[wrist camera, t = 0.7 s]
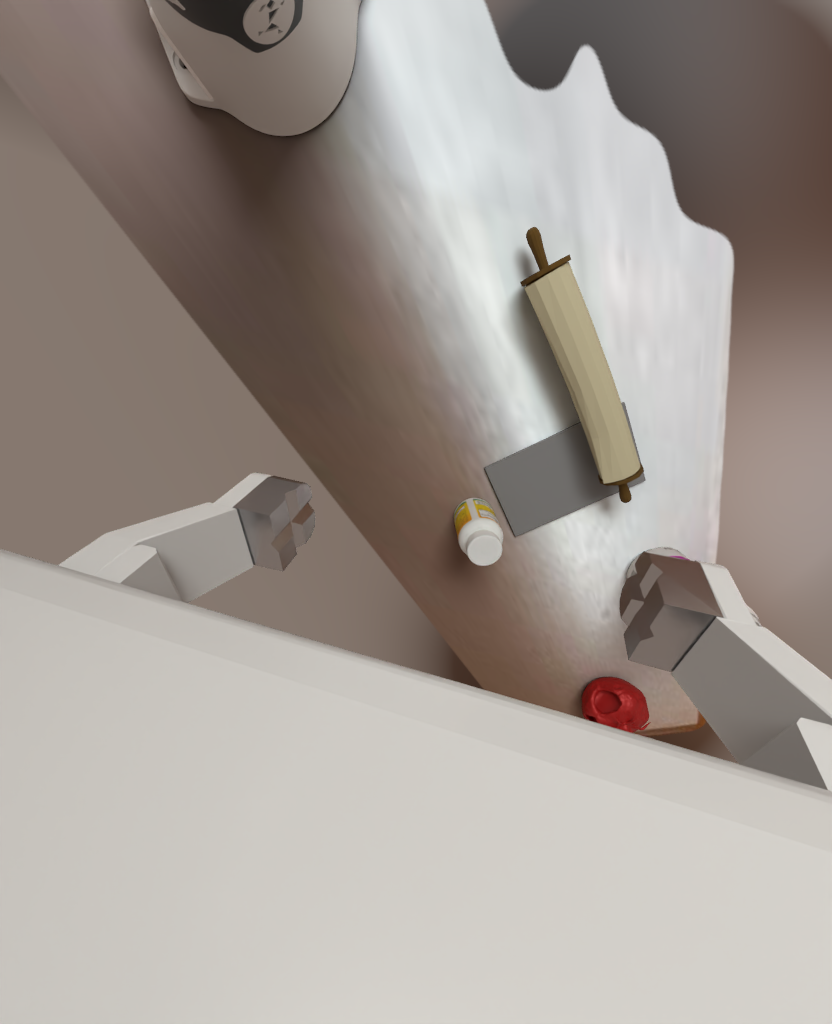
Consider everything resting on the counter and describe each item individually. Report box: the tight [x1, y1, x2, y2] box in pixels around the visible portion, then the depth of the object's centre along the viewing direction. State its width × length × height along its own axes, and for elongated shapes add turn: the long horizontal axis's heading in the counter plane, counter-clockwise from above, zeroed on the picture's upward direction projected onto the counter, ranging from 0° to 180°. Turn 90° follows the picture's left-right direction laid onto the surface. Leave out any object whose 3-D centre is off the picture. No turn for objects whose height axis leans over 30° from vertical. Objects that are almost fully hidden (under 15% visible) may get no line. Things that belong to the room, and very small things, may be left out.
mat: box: [485, 402, 645, 537], centre depth 50 cm, size 11×18×1 cm, turn 117°
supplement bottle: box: [454, 498, 503, 566], centre depth 48 cm, size 5×5×10 cm
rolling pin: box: [520, 227, 644, 503], centre depth 42 cm, size 32×6×5 cm, turn 29°
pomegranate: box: [582, 677, 651, 733], centre depth 62 cm, size 10×10×9 cm
